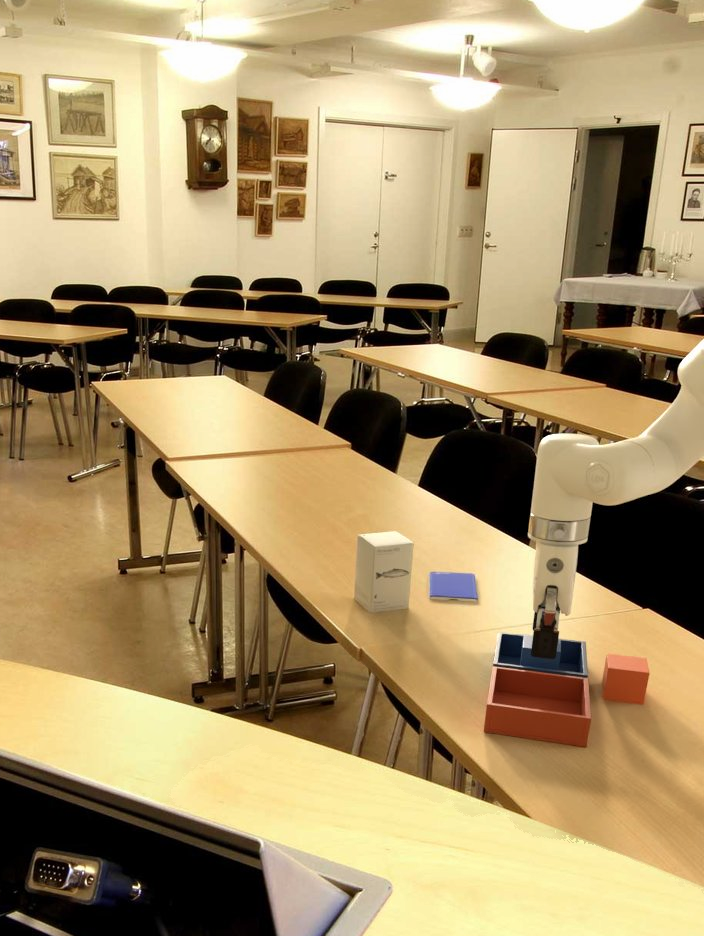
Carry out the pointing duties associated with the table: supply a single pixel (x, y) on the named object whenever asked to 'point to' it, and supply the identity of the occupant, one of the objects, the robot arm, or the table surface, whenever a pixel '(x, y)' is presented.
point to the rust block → (625, 679)
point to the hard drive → (452, 586)
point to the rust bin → (538, 706)
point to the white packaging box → (383, 571)
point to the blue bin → (569, 664)
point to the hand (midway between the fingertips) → (543, 643)
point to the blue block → (535, 661)
